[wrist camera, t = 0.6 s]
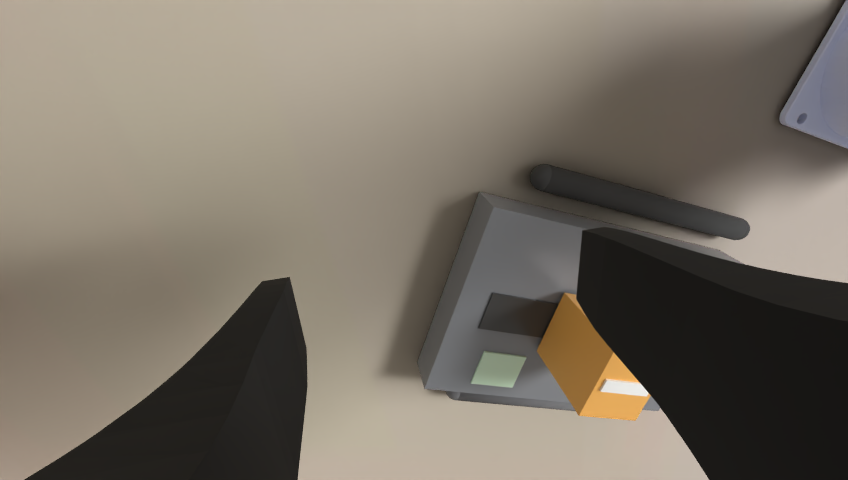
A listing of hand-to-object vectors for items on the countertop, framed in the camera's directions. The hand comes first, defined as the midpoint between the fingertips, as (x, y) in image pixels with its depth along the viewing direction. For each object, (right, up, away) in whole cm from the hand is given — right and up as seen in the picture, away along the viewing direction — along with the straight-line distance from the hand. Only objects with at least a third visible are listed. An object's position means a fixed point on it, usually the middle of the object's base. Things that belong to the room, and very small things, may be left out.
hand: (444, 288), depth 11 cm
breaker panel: (+8, -2, +14) cm, 16 cm away
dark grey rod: (+10, +3, +12) cm, 16 cm away
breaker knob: (+7, -3, +12) cm, 14 cm away
